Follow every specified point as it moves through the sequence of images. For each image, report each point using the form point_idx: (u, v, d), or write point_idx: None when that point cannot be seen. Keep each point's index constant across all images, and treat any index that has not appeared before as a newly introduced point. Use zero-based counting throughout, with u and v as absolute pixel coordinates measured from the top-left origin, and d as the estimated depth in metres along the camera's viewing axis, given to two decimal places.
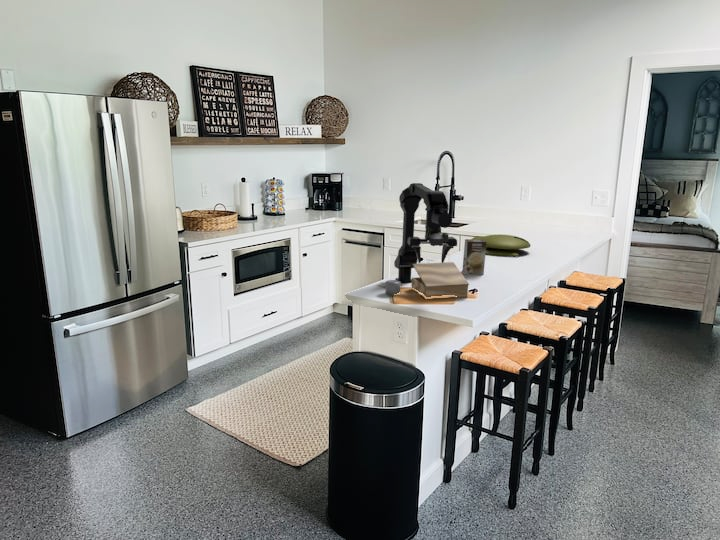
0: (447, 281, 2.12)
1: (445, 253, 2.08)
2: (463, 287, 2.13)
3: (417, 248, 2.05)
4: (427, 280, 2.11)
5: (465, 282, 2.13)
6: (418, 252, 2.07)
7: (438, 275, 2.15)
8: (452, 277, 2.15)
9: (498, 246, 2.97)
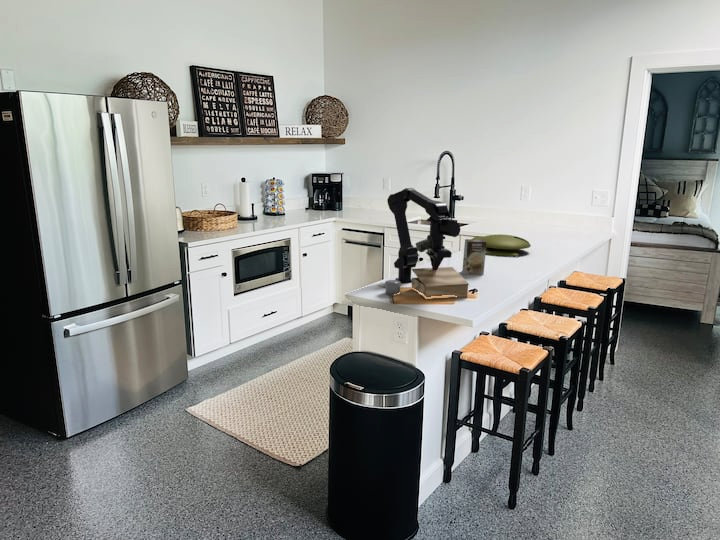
0: (447, 282, 2.13)
1: (433, 261, 2.20)
2: (463, 287, 2.13)
3: (427, 254, 2.22)
4: (427, 281, 2.12)
5: (465, 282, 2.13)
6: (430, 259, 2.22)
7: (438, 277, 2.16)
8: (451, 279, 2.15)
9: (498, 246, 2.97)
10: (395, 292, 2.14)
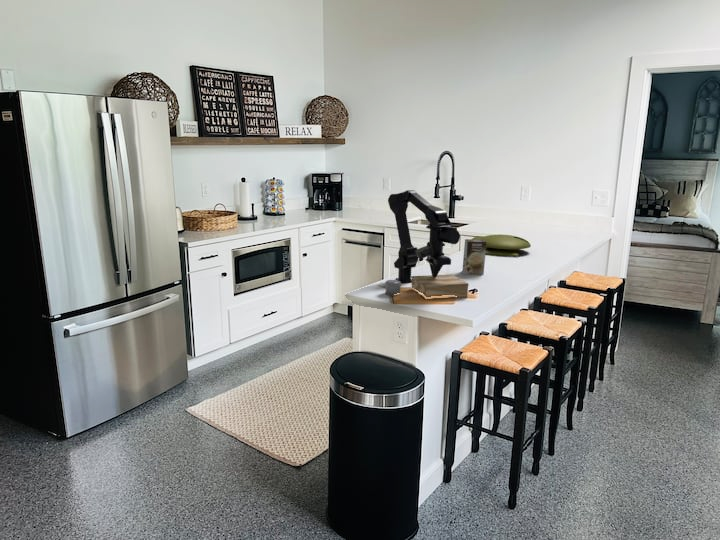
0: (447, 283, 2.13)
1: (433, 268, 2.20)
2: (463, 287, 2.13)
3: (427, 261, 2.23)
4: (426, 283, 2.12)
5: (465, 283, 2.14)
6: (430, 265, 2.23)
7: (437, 280, 2.16)
8: (451, 281, 2.16)
9: (498, 246, 2.97)
10: (395, 292, 2.14)
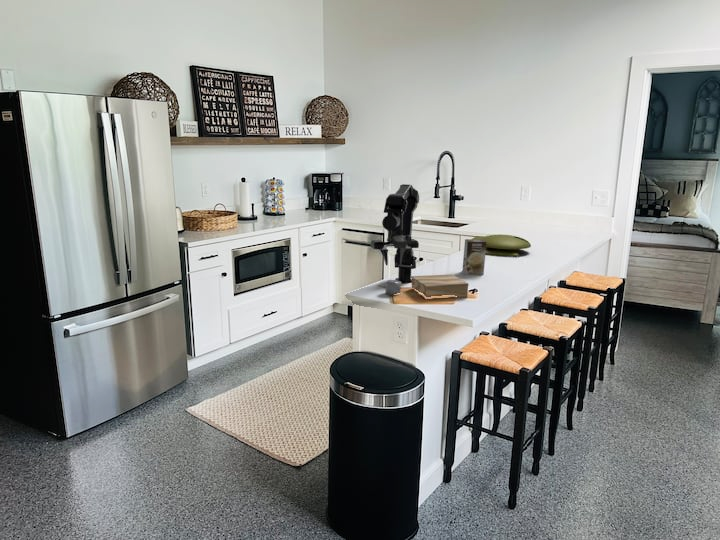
0: (447, 283, 2.13)
1: (404, 255, 2.13)
2: (463, 287, 2.13)
3: (384, 251, 2.09)
4: (426, 283, 2.12)
5: (465, 283, 2.14)
6: (385, 255, 2.11)
7: (437, 280, 2.16)
8: (451, 281, 2.16)
9: (498, 246, 2.97)
10: (396, 292, 2.14)
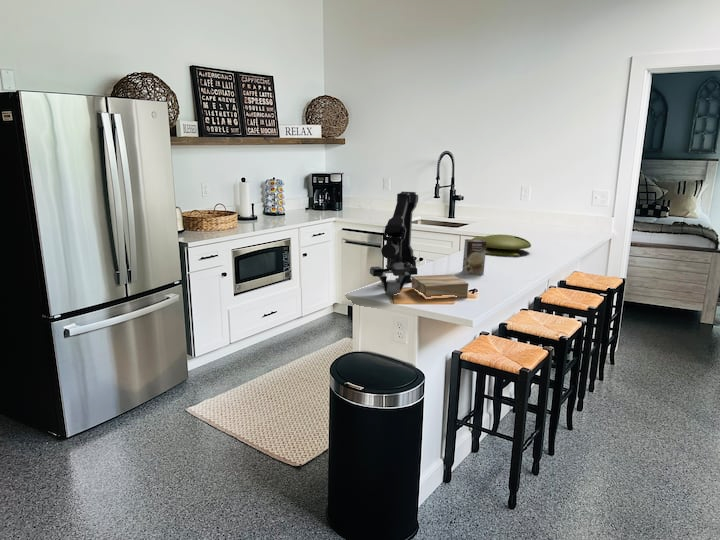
0: (447, 283, 2.13)
1: (403, 281, 2.16)
2: (463, 287, 2.13)
3: (383, 278, 2.12)
4: (426, 283, 2.12)
5: (465, 283, 2.14)
6: (384, 281, 2.13)
7: (437, 280, 2.16)
8: (451, 281, 2.16)
9: (499, 246, 2.97)
10: (397, 292, 2.14)
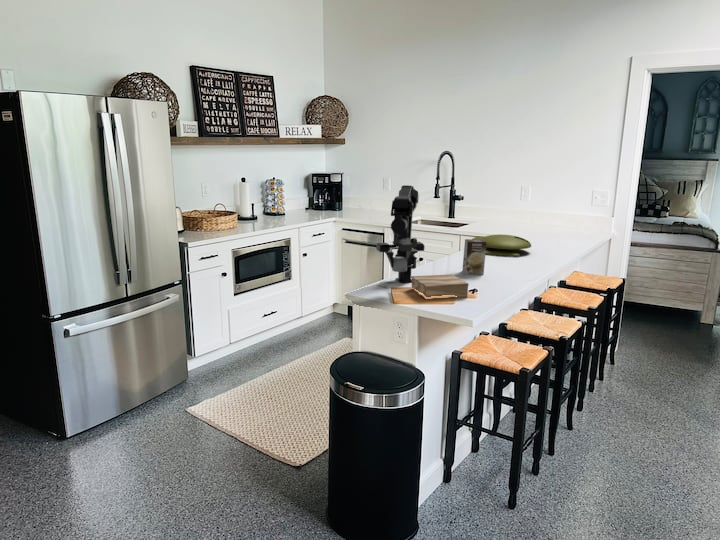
0: (447, 283, 2.13)
1: (410, 258, 2.14)
2: (463, 287, 2.13)
3: (390, 254, 2.10)
4: (426, 283, 2.12)
5: (465, 283, 2.14)
6: (391, 257, 2.12)
7: (437, 280, 2.16)
8: (451, 281, 2.16)
9: (499, 246, 2.97)
10: (403, 268, 2.12)
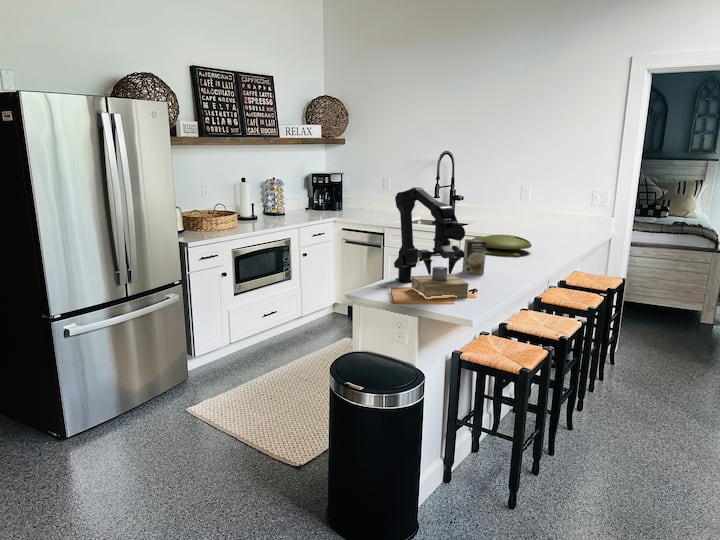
0: (447, 283, 2.13)
1: (453, 264, 2.17)
2: (463, 287, 2.13)
3: (428, 261, 2.12)
4: (426, 283, 2.12)
5: (465, 283, 2.14)
6: (429, 265, 2.14)
7: None
8: (451, 281, 2.16)
9: (499, 246, 2.97)
10: (444, 278, 2.15)
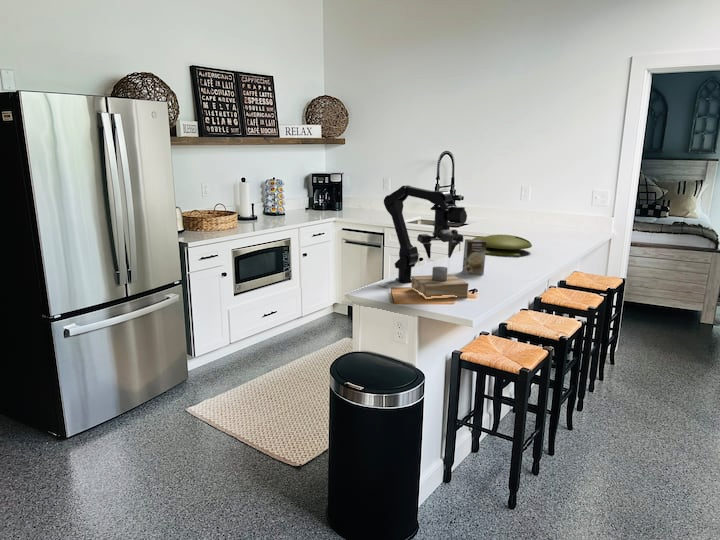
0: (447, 283, 2.13)
1: (452, 248, 2.24)
2: (463, 287, 2.13)
3: (428, 245, 2.19)
4: (426, 283, 2.12)
5: (465, 283, 2.14)
6: (428, 248, 2.21)
7: None
8: (451, 281, 2.16)
9: (499, 246, 2.97)
10: (444, 278, 2.15)
